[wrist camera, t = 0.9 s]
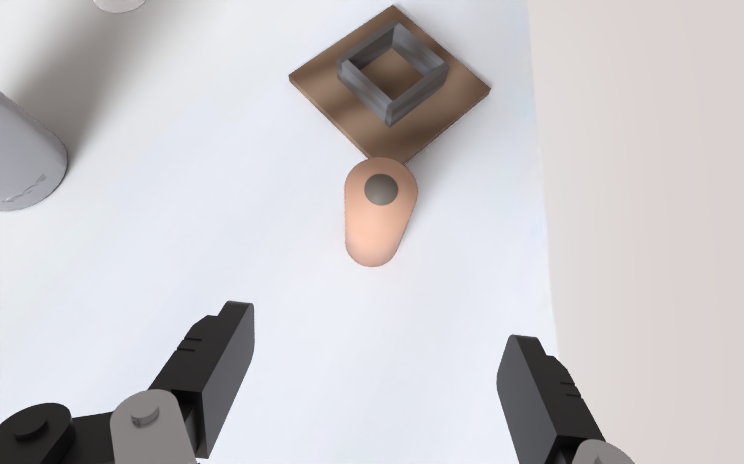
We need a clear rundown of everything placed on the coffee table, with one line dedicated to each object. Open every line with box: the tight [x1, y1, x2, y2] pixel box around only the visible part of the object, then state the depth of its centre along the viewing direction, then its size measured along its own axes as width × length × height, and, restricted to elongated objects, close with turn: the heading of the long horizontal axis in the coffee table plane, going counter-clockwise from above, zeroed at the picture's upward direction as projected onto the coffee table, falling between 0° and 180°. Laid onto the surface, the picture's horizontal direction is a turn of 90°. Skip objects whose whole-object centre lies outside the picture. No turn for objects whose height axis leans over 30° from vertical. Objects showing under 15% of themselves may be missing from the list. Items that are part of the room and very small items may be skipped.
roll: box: [344, 157, 418, 267], centre depth 34 cm, size 5×5×12 cm
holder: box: [289, 5, 491, 164], centre depth 44 cm, size 16×16×4 cm
